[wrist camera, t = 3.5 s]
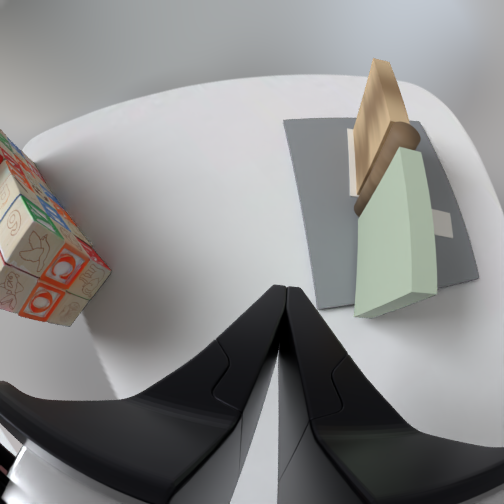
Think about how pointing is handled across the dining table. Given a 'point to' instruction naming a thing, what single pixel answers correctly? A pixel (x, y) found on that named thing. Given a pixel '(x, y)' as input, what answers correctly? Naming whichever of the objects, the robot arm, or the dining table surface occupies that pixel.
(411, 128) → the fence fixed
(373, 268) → the fence hinged panel
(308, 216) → the board
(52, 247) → the stack of blocks
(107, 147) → the dining table surface
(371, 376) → the dining table surface
